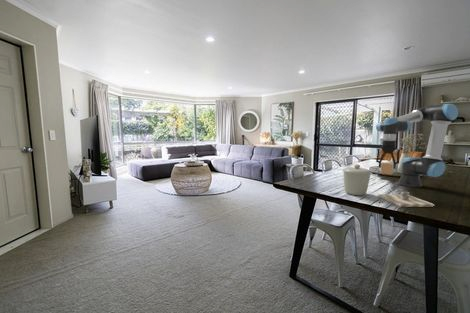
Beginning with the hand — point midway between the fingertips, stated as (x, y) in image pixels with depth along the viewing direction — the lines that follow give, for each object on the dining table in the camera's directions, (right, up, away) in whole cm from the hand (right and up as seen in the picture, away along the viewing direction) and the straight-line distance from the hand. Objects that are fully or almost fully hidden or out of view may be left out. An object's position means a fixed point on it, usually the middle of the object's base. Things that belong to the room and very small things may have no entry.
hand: (386, 172), depth 156 cm
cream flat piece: (0, -17, -17) cm, 24 cm away
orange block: (0, 0, 0) cm, 0 cm away
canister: (-22, -15, +1) cm, 27 cm away
